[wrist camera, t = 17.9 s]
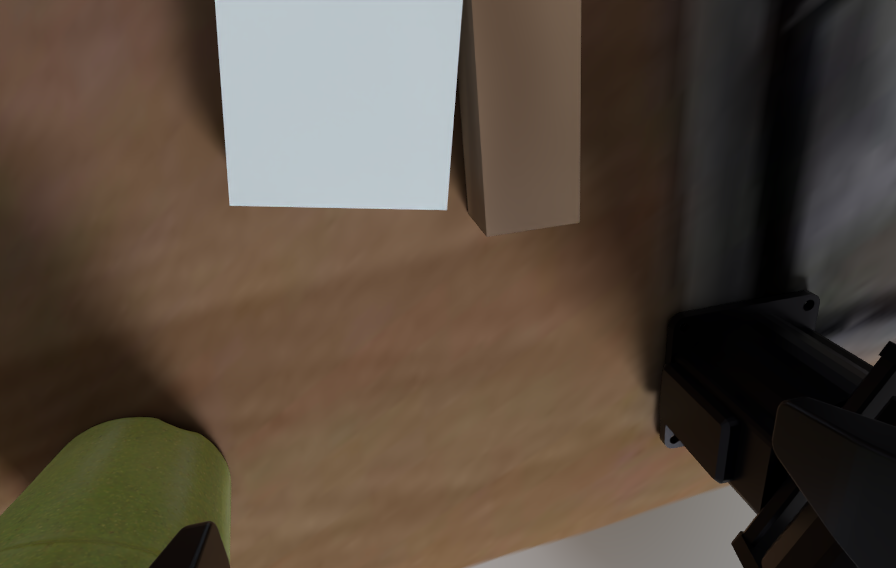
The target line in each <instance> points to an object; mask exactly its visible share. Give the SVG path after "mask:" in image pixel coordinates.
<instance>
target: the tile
mask: <svg viewBox="0 0 896 568" xmlns="http://www.w3.org/2000/svg"><path fill="white" fill-rule="evenodd" d="M462 5H463V0H215V9H216V23H217V37H218V51H219V64H220V78H221V92H222V106H223V119H224V133H225V147H226V161H227V174H228V188H229V202H230V206H272V207H322V208H372V209H421V210H447V201H448V188H449V175H450V162H451V149H452V136H453V123H454V110H455V96H456V83H457V70H458V57H459V44H460V31H461V18H462Z"/></svg>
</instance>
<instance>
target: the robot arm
mask: <svg viewBox="0 0 896 568" xmlns="http://www.w3.org/2000/svg"><path fill="white" fill-rule="evenodd" d="M806 301H807V302H806ZM805 302H806V304H805ZM804 304H805V305H804ZM819 305H820V299H819V297H818V296H817V295H815V294H813V293H811V292H809V291H807V290H803V291H798V292H792V293H786V294H781V295H775V296H770V297H764V298H758V299H753V300H747V301H742V302H736V303H731V304H725V305H719V306H714V307H708V308H703V309H697V310H691V311H686V312H680V313H678V314H676V315H674V316H673V317H672V318H671V320H670V321H669V324H668V334H667V347H666V359H665V366H664V368H663V370H662V383H661V397H660V410H659V417H660V419H661V423H660V439H661V440H662V442H663V443H664V444H665V445H666V446H667V447H668V448H677V447H682V446H685V447H686V448H687V450H688V451H689V452H690V453H691V454H692V455H693V456H694V458H695V459H696V460H697V461H698V462H699V463H700V464H701V466H702V467H703V468H704V469H705V470H706V471H707V472H708V474H709V475H710V476H711V477H712V478H713V479H714V480H716V481H717V482H718V483H720V484H721V483H726V482H728V483H729V484H730V485H731V486H732V487H733V488H734V489H735V490H736V492H737V493H738V494H739V495H740V496H741V497H742V498H743V499H744V500H745V502H746V503H747V504H748V505H749V506H750V507H751V508H752V509H753V510H754V512H755V513H756V514H757V516H756V517H755V518H754V519H753V521H752V522H751V523H750V525H749V526H748V527H747V528H746V530H745V531H744V532H743V531H740V532H739V534H738V535H737V536H736V538H735V539H734V540H733V541H732V543H731V544H732V546H733V548H734V550H735V552H736V554H737V556H738V558H739V560H740V562H741V564H742V565H743V567H744V568H896V344H895V343H893V342H891V341H889V342H888V343H887V345H886V346H885V347H884V348H883V350H882V351H881V352H880V354H879V355H880V356H881V358H880V359H879V360H878V361H877V363H876V364H875V365H874V367H873V366H872V365H870V364H868V363H867V362H865V361H863V360H862V359H860V358H858V357H857V356H855V355H853V354H852V353H850V352H849V351H847V350H845V349H844V348H842V347H840V346H839V345H837V344H835V343H834V342H832V341H830V340H829V339H827V338H825V337H824V336H822V335H820V334H819V333H817V332H815V331H814V330H815V325H816V320H817V315H818V310H819ZM685 322H686V323H685ZM683 323H685V325H684V326H683V328H681V329H679V328H680V326H681V325H682V324H683ZM673 435H674V436H673ZM672 436H673V437H672ZM149 568H230V563H229V559H228V556H227V553H226V550H225V548H224V545H223V542H222V539H221V536H220V533H219V530H218V527H217V526H216V524H215V523H214V522H212V521H205V522H201V523H196V524H191V525H187V526H185V527H183V528H182V529H181V530H180V531H179V532H178V533H177V534H176V535H175V537H174V538H173V539H172V540H171V541H170V543H169V544H168V545H167V546H166V547H165V548H164V550H163V551H162V552H161V553H160V554H159V556H158V557H157V558H156V559H155V560H154V562H153V563H152V564H151V565H150V566H149Z"/></svg>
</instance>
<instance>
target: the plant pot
mask: <svg viewBox="0 0 896 568" xmlns="http://www.w3.org/2000/svg"><path fill="white" fill-rule="evenodd" d="M205 521H212V522H214V523H215V524H216V526H217V527H218V530H219V533H220V536H221V539H222V542H223V545H224V548H225V550H226V553H227V556H228V559H229V563H230V523H231V478H230V472H229V469H228V466H227V463H226V461H225V460H224V458H223V456H222V455H221V453H220V452H219V451H218V450H217V448H216V447H215V446H214V445H213V444H212V443H211V442H210V441H209V440H208V439H206V438H205V437H204V436H202V435H201V434H199V433H197V432H191V431H187V430H183V429H180V428H177V427H175V426H172V425H170V424H167V423H165V422H163V421H161V420H159V419H157V418H151V417H131V418H121V419H116V420H111V421H107V422H104V423H101V424H99V425H96V426H94V427H92V428H90V429H88V430H86V431H85V432H83V433H81V434H80V435H78V436H77V437H75V438H74V439H73V440H72V441H70V442H69V443H68V444H67V445H66V446H65V447H64V448H63V449H62V450H61V451H60V452H59V453H58V454H57V455H56V457H55V458H54V459H53V460H52V461H51V462H50V463H49V464H48V465H47V466H46V467H45V468H44V469H43V471H42V472H41V473H40V474H39V475H38V476H37V477H36V478H35V479H34V481H33V482H32V483H31V484H30V485H29V486H28V487H27V488H26V489H25V490H24V491H23V493H22V494H21V495H20V496H19V497H18V498H17V499H16V500H15V501H14V502H13V503H12V504H11V505H10V506H9V507H8V508H7V509H6V511H5V512H4V513H3V514H2V515H1V516H0V568H149V566H150V565H151V564H152V563H153V562H154V560H155V559H156V558H157V557H158V556H159V554H160V553H161V552H162V551H163V550H164V548H165V547H166V546H167V545H168V544H169V543H170V541H171V540H172V539H173V538H174V537H175V535H176V534H177V533H178V532H179V531H180V530H181V529H182V528H183V527H185V526H187V525H191V524H196V523H201V522H205Z"/></svg>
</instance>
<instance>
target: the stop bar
mask: <svg viewBox="0 0 896 568" xmlns="http://www.w3.org/2000/svg"><path fill="white" fill-rule="evenodd" d="M457 71H458V84H459V97H460V111H461V124H462V137H463V150H464V163H465V176H466V189H467V202H468V214H469V215H470V217H471V218H472V219H473V220H474V221H475V223H476V224H477V225H478V226H479V228H480V229H481V230H482V231H483V233H484V234H485V235H486V236H487V237H488V236H495V235H502V234H508V233H515V232H522V231H528V230H535V229H541V228H548V227H555V226H561V225H568V224H574V223H580V108H581V0H463V5H462V18H461V31H460V44H459V57H458V70H457Z"/></svg>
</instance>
